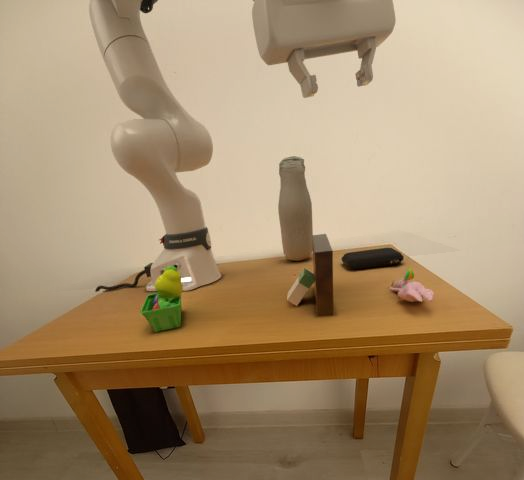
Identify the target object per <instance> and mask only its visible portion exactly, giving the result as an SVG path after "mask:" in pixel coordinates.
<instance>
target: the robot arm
mask: <svg viewBox="0 0 524 480" xmlns="http://www.w3.org/2000/svg"><path fill="white" fill-rule="evenodd" d="M158 1H159V0H89V3H88V13H89V19H90V24H91V27H92V30H93V34H94V37H95V40H96V43H97V46H98V49H99V52H100V54H101V56H102V59H103V62H104V64H105V66H106V69H107V71H108V73H109V76H110V78H111V80H112V83H113V85H114V87H115V89H116V92H117V95H118V96H119V99H120V101H121V102H122V103H123V105H124V106H125V107H126V108H127V109H128V110H130V111H131V112H132V113H135V114H136V115H138V116H139V117H141V118H134V119H133V118H132V119H129V120H125V121H122V122H118V123H116V124H115V125H114V126H113V127H112V131H111V134H110V148H111V153H112V155H113V157H114V159H115V161H116V162H117V164H118V165H119V166H120V168H121V169H123V171H124V172H126V173H127V174H129V175H131V176H132V177H133V178H135V179H137V181H139V182H140V183H141V184H142V185H143V186H144V188H145V189H146V190H147V191H148V192H149V194H150V195H151V197H152V198H153V201H154V202H155V204H156V207H157V209H158V212H159V215H160V217H161V218H160V219H161V221H162V224H163V227H164V230H165V234H164V235H163V236H162V237H160V238H159V239H158V241H160V242H159V244H160V245H161V244H162V245H163V248H164V249H163V250H162V251H161V253H160V254H158V256H157V257H156V259H155V260H154V261H153V262H150V263H149V264H147V265H146V266H144V267H143V270H141V271H140V272H138V273H137V274H136V276H135V278H134V282H133V283H128V282H124V283H120V284H116V285H111V286H107V285H98V286H97V287H96V288H95V290H94V292H95V293H97V292H100V290H106V291H112V290H117V289H121V288H124V287H125V288H126V287H127V288H135V287H136V286H137V285H138V284H139V280H140V278H141V277H142V276H143V275H146V277H147V278H150V279H151V280H150V281H149V282H148V283H147V284H146V285H145V290H146V292H157V290H156V289H155V282H156V281H157V280H158V278H159V277H160V276H161V275H162V274H163V273H164V270H165V269H166V268H167V267H169V266H173V267H175V268H177V271H178V272H179V273H180V274H181V282H182V287H183V289H182V292H183V291H184V292H185V291H192V290H195V289H197V288H199V287H202V286H206V285H209V284H211V283H214V282H217V281H218V280H219V279H221V278H222V276H223V275H222V273H221V271H220V269H219V267H218V265H217V261H216V260H215V257H214V253H213V249H212V241H211V236H210V232H209V228H208V227H207V226H206V222H205V217H204V213H203V206H202V202H201V199H200V197H199V195H198V194H197V193H196V192H194V191H192V190H191V189H188V188H186V187H185V186H184V185H183V184H182V183H181V181H180V180H179V178H178V176H177V173H184V172H186V173H187V172H194V171H196V170H199V169H201V168H203V167H206V166H208V165H209V164H210V163H211V160H212V157H213V154H214V146H213V145H214V144H213V140H212V137H211V134H210V132H209V130H208V128H207V127H206V126H205V125H204V124H203V123H201V122H200V121H198V120H197V119H196V118H195V117H193V116H192V115H191V114H190V113H189V112H188V111H187V110H186V109H185V108H184V107H183V105H181V103H180V102H179V100H178V99H177V98H176V97H175V96H174V94H173V92H172V91H171V88H169V86H168V84H167V82H166V80H165V78H164V76H163V74H162V71H161V69H160V67H159V65H158V62H157V60H156V57H155V54H154V52H153V49H152V47H151V45H150V43H149V40H148V38H147V37H148V36H147V35H146V33H145V30H144V28H143V27H144V26H143V25H142V21H141V13H143V14H149V13H151V12H152V11H153V9H154V5H155V4H156V3H157V2H158ZM252 2H253V4H252V9H251V18H252V19H251V20H252V26H253V32H254V38H255V42H256V46H257V47H256V48H257V51H258V55H259V57H260V59H261V60H262V61H263V62H264V63H265V64H266V65H267V66H276V65H280V64H287V66H288V70H289V73H290V74H291V75H292V77H293V78H294V79H295V81H297V83H298V84H299V85H300V89H301V95H302V98H303V99H307V98H312V97H314V96H315V94H317V93H318V91H319V86H318V83H317V82H318V81H317V76H316V74H312V75H311V74H310V72H309V70H308V69H307V67H306V65H305V64H304V61H305V60H309V59H316V58H322V57H329V56H335V55H340V54H346V53H352V52H357V57H358V59H359V60H360V59H361V62H360V67H359V70H357V72H356V73H355V80H356V85H357V87H358V88H359V87H364V86H368V85H369V84H370V83H371V82H372V81H373V79H374V74H373V73H374V72H373V66H372V65H373V62H374V59H375V54H376V50H377V48H379V46H381V45H382V44H383V43H384V42H385V41H386V40H387V39H388V38H389V36H391V35H392V34H393V32H394V28H395V26H396V21H397V19H396V11H395V6H394V1H393V0H252Z"/></svg>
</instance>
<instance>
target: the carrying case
mask: <svg viewBox="0 0 524 480" xmlns="http://www.w3.org/2000/svg"><path fill="white" fill-rule="evenodd" d="M404 258H405V256H404V255H403V254H402V253H401V252H399V251H398V250H396V249H394V248H392V247H380V248H373V249H365V250H358V251H351V252H346V253H344V254H343V255H342V256H341V261H342V262H343V264H344V265H345V266H346V267H347V268H348V269H349V270H356V271H357V270H364V269H373V268H380V267H387V266H396V265H399V264H401V262H402V261H404Z"/></svg>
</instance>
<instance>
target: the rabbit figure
mask: <svg viewBox="0 0 524 480" xmlns="http://www.w3.org/2000/svg"><path fill="white" fill-rule="evenodd" d="M403 277H404V278H403V279H398V280H394V279H392V283H391V286H390V287H389V291H394V293H397V295H396V296H397V297H398V298H399V299H401V300H405V301H406V302H410V303H413V302H419V303H422V302H423V298H424V299H426V300H427V301H428V302H432V301H433V299H434V296H435V292H434V291H433V290H432V289H430V288H426V287H425V285H424V284H422V283H421V282H419V281H413V279H414V277H415V274H414V272H413V270H412V269H410V268H408V269H407V272H406V274H405V275H404V276H403Z"/></svg>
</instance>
